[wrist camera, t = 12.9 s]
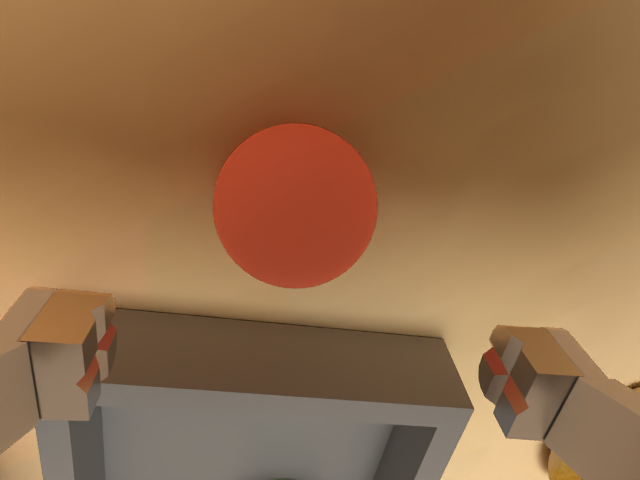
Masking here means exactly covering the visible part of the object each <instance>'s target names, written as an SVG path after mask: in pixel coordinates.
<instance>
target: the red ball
mask: <svg viewBox="0 0 640 480" xmlns="http://www.w3.org/2000/svg"><path fill="white" fill-rule="evenodd" d="M377 207H378V202H377V192H376V188H375V184H374V180H373V178H372V175H371V173H370V170H369V168H368V167H367V165H366V163H365V162H364V160H363V159H362V157H361V156H360V155H359V153H358V152H357V151H356V150H355V149H354V148H353V147H352V146H351V145H350V144H349V143H348V142H346V141H345V140H344V139H342V138H341V137H339V136H338V135H336V134H334V133H332V132H331V131H329V130H326V129H323V128H321V127H318V126H313V125H309V124H300V123H291V124H282V125H276V126H273V127H269V128H266V129H264V130H262V131H259V132H257V133H255V134H254V135H252V136H251V137H249V138H247V139H246V140H245V141H244V142H243V143H241V144H240V145H239V146H238V147H237V148H236V149H235V150H234V151H233V152H232V153H231V154H230V156H229V157H228V159H227V160H226V162H225V163H224V165H223V167H222V169H221V171H220V173H219V176H218V178H217V181H216V185H215V190H214V196H213V215H214V222H215V226H216V230H217V233H218V236H219V238H220V240H221V242H222V244H223V246H224V248H225V249H226V251H227V253H228V254H229V255H230V257H231V258H232V259H233V260H234V261H235V262H236V263H237V264H238V265H239V266H240V267H241V268H242V269H243V270H244V271H246V272H247V273H248V274H250V275H251V276H253V277H255V278H257V279H258V280H260V281H263V282H265V283H268V284H271V285H275V286H278V287H284V288H307V287H313V286H317V285H320V284H323V283H326V282H328V281H330V280H332V279H334V278H336V277H338V276H340V275H341V274H343V273H344V272H345V271H347V270H348V269H349V268H350V267H351V266H352V265H353V264H354V263H355V262H356V261H357V260H358V259H359V258H360V256H361V255H362V254H363V252H364V251H365V249H366V248H367V246H368V244H369V242H370V240H371V237H372V234H373V231H374V228H375V225H376V220H377Z"/></svg>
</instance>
